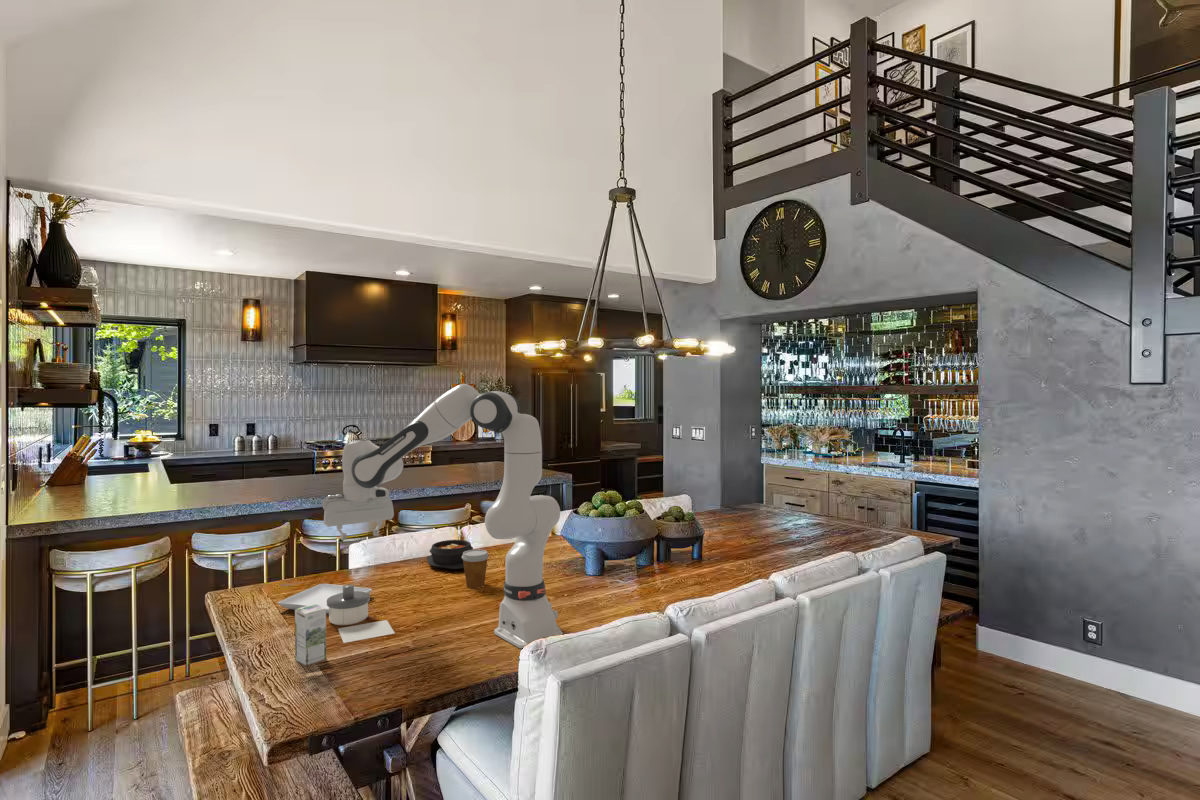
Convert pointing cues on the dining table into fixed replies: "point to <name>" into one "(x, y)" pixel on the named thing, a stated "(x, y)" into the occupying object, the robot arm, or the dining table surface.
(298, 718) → the dining table surface
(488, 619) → the dining table surface
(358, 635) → the mat
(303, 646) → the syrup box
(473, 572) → the disposable coffee cup
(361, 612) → the bowl
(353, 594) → the lid
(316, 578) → the dining table surface
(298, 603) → the salad plate
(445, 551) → the casserole
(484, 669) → the dining table surface
